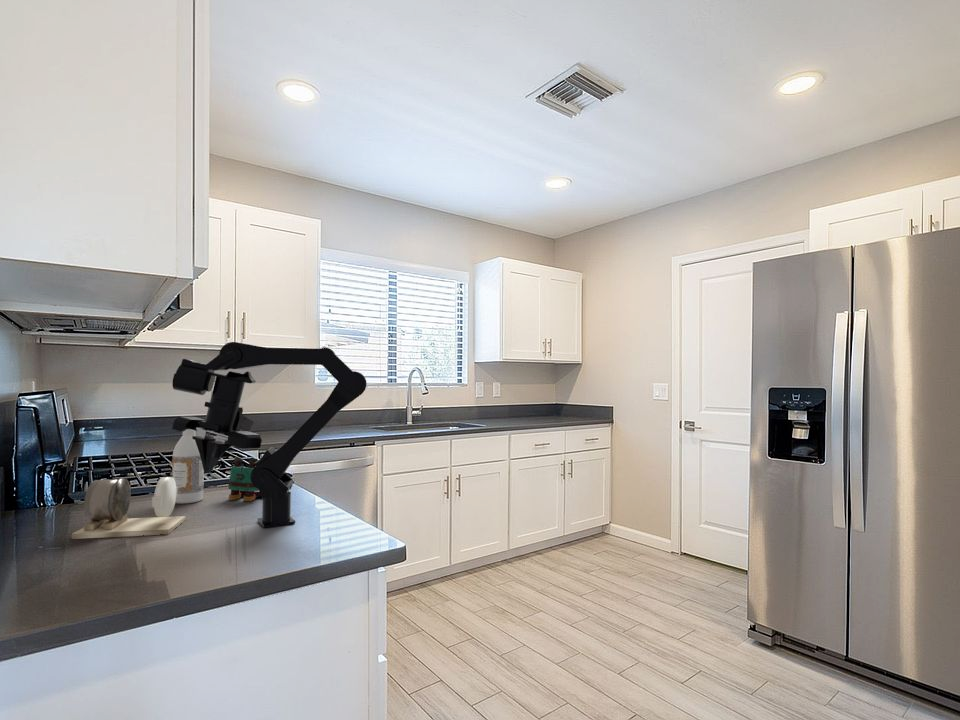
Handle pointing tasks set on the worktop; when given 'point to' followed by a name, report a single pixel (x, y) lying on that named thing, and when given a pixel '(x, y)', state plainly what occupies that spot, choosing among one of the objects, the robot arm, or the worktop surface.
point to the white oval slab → (164, 497)
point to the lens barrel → (107, 500)
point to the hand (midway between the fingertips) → (207, 472)
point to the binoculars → (242, 481)
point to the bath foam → (188, 469)
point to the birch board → (129, 527)
